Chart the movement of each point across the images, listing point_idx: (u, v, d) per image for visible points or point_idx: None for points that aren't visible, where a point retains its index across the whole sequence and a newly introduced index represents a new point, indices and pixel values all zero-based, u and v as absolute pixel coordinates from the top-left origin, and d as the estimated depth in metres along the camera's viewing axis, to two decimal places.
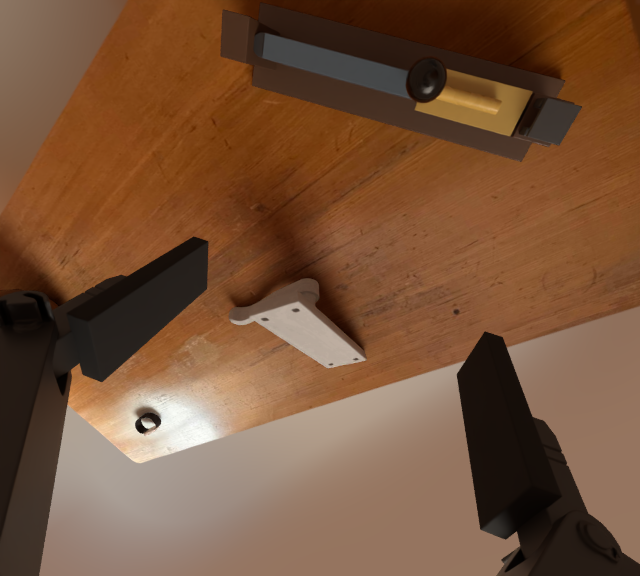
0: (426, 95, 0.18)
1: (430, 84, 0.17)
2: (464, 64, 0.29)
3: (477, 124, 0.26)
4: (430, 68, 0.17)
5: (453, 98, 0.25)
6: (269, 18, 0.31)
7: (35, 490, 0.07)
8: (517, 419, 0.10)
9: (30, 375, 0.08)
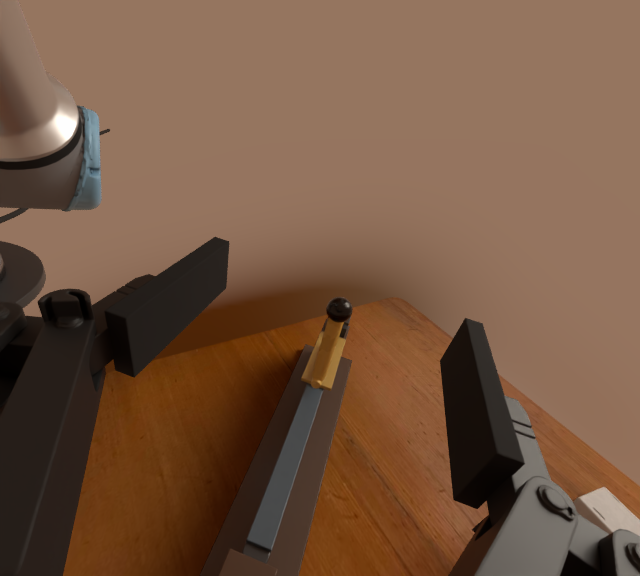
0: (349, 303, 0.27)
1: (345, 298, 0.27)
2: (289, 391, 0.39)
3: (339, 353, 0.37)
4: (336, 298, 0.27)
5: None
6: None
7: (66, 485, 0.07)
8: (489, 396, 0.10)
9: (68, 371, 0.08)
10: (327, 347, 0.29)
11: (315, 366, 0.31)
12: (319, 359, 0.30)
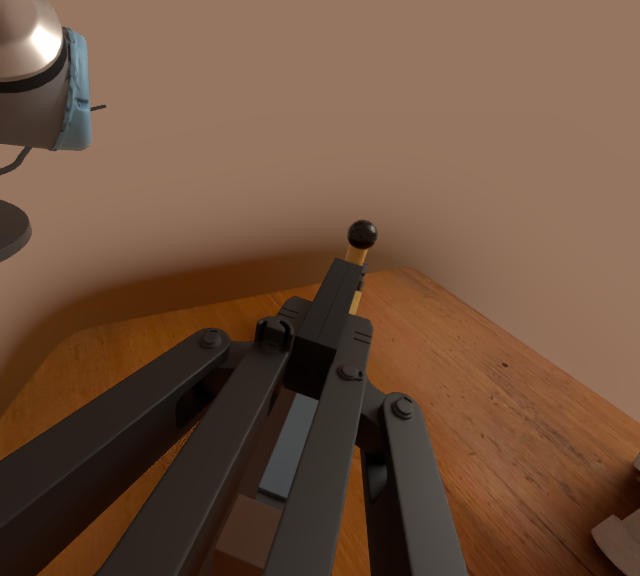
0: (374, 226, 0.23)
1: (369, 221, 0.23)
2: None
3: (356, 305, 0.33)
4: (359, 220, 0.23)
5: None
6: (205, 564, 0.19)
7: (219, 510, 0.07)
8: (334, 310, 0.12)
9: (257, 397, 0.09)
10: None
11: None
12: None
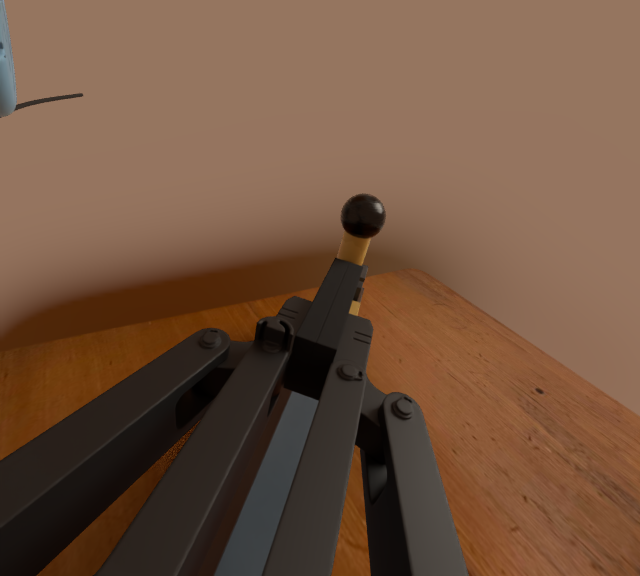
0: (381, 204, 0.16)
1: None
2: None
3: None
4: (358, 195, 0.15)
5: None
6: None
7: (219, 510, 0.07)
8: (334, 310, 0.12)
9: (257, 397, 0.09)
10: None
11: None
12: None
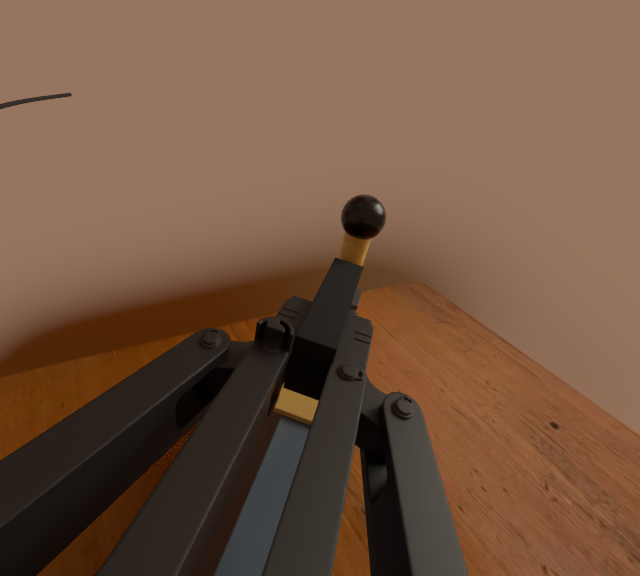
0: (381, 205, 0.16)
1: None
2: None
3: None
4: (359, 195, 0.15)
5: None
6: None
7: (219, 510, 0.07)
8: (334, 310, 0.12)
9: (257, 397, 0.09)
10: None
11: None
12: None
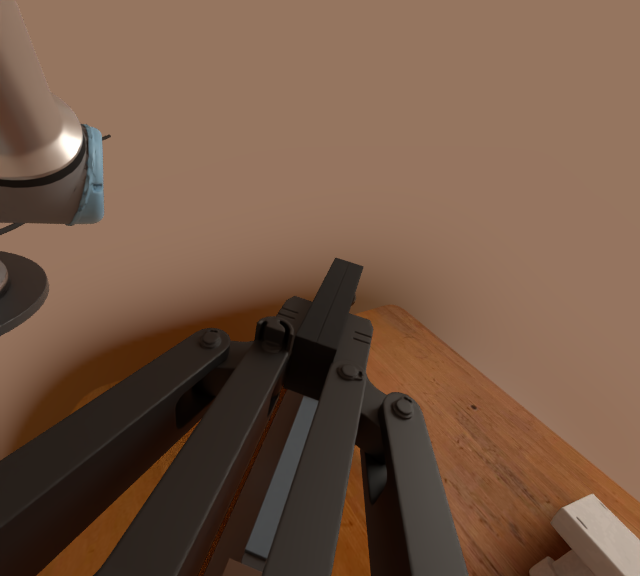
0: None
1: None
2: (287, 401, 0.40)
3: None
4: None
5: None
6: None
7: (219, 510, 0.07)
8: (334, 310, 0.12)
9: (257, 397, 0.09)
10: None
11: None
12: None
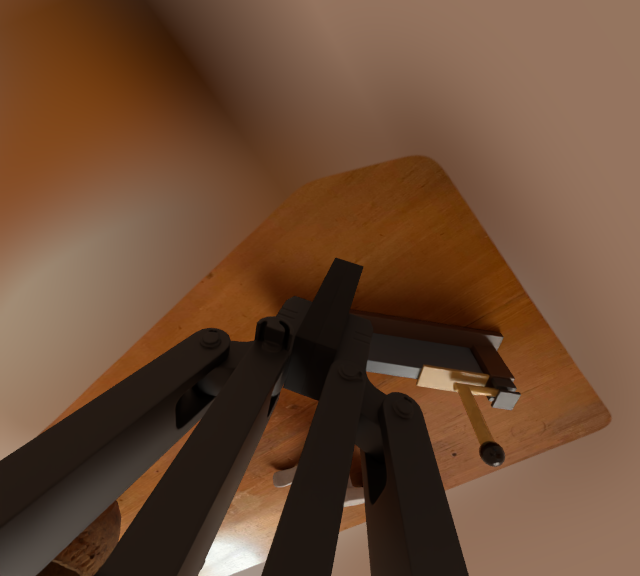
0: None
1: (498, 465, 0.30)
2: (438, 331, 0.44)
3: None
4: (498, 459, 0.30)
5: (484, 394, 0.38)
6: None
7: (219, 510, 0.07)
8: (334, 310, 0.12)
9: (257, 397, 0.09)
10: (470, 419, 0.34)
11: (465, 394, 0.37)
12: (467, 403, 0.36)
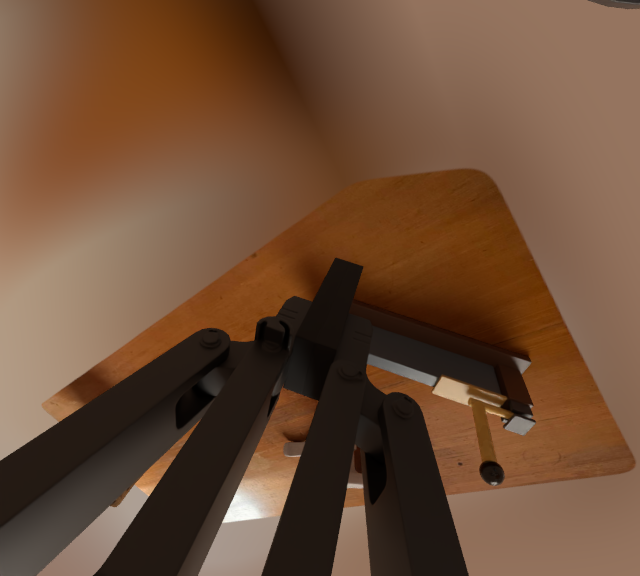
0: None
1: (495, 485, 0.31)
2: (464, 344, 0.44)
3: None
4: (496, 479, 0.31)
5: (498, 415, 0.39)
6: None
7: (219, 510, 0.07)
8: (334, 310, 0.12)
9: (257, 397, 0.09)
10: (478, 436, 0.35)
11: (478, 411, 0.37)
12: (478, 420, 0.36)
